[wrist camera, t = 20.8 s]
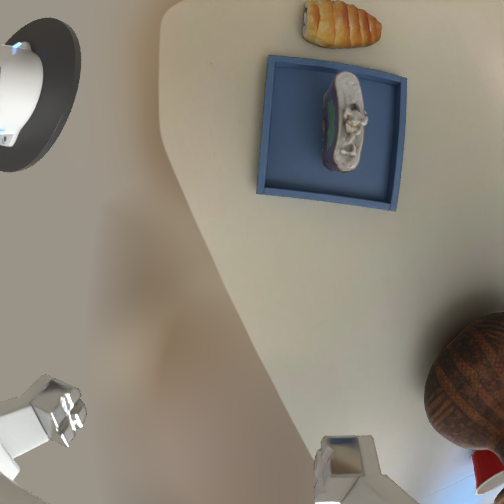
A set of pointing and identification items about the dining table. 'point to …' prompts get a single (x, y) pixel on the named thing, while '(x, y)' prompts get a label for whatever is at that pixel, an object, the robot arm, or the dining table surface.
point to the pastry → (339, 25)
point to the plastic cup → (487, 471)
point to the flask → (343, 123)
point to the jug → (470, 389)
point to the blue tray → (311, 134)
